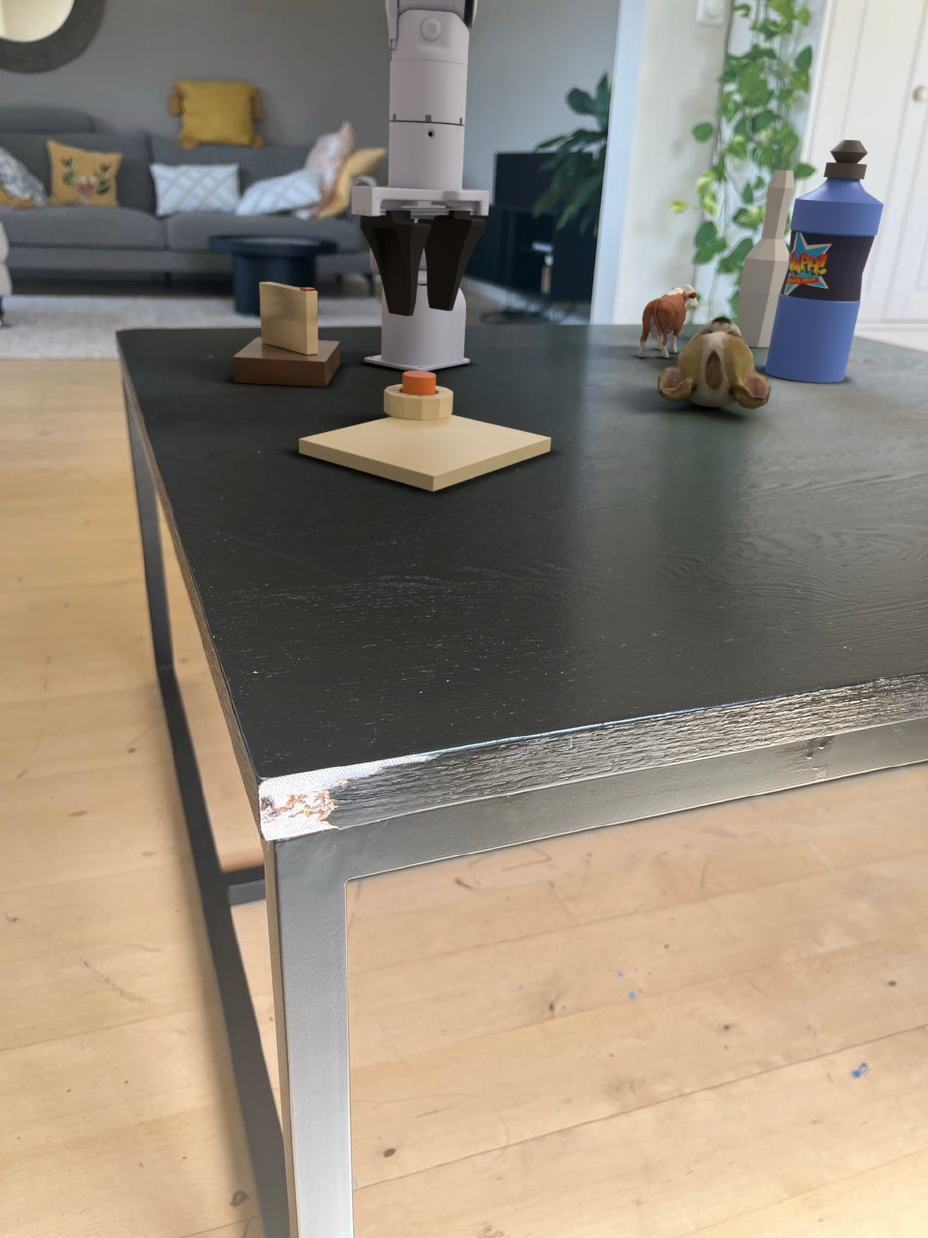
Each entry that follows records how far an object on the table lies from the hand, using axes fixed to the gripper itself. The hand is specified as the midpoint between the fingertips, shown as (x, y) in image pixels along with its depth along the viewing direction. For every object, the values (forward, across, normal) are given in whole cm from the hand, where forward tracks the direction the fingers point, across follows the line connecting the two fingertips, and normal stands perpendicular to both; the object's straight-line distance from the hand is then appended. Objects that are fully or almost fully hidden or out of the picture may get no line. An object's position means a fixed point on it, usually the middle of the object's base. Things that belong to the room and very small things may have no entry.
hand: (421, 311), depth 78 cm
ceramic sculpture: (+10, +29, -14) cm, 34 cm away
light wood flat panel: (+7, +7, +23) cm, 25 cm away
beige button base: (+9, -5, -5) cm, 12 cm away
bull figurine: (+10, +53, +3) cm, 54 cm away
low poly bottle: (+10, +71, -2) cm, 72 cm away
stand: (+9, +7, +23) cm, 26 cm away
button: (+7, 0, 0) cm, 7 cm away
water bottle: (+10, +54, -15) cm, 57 cm away
